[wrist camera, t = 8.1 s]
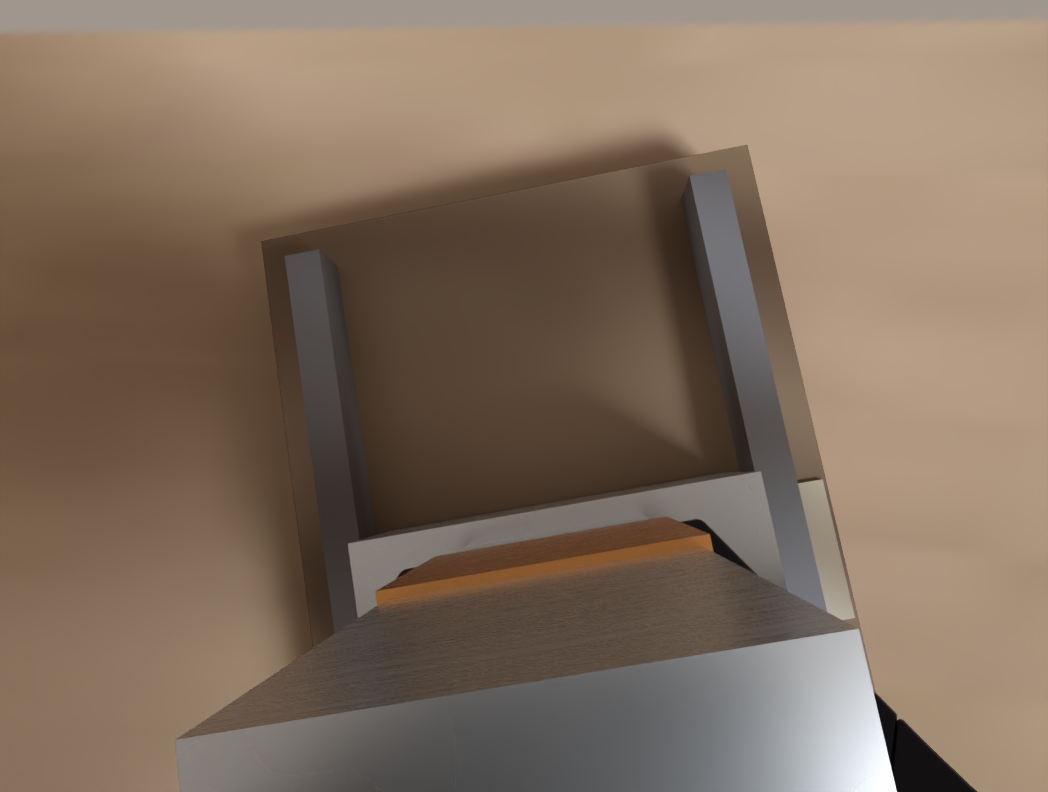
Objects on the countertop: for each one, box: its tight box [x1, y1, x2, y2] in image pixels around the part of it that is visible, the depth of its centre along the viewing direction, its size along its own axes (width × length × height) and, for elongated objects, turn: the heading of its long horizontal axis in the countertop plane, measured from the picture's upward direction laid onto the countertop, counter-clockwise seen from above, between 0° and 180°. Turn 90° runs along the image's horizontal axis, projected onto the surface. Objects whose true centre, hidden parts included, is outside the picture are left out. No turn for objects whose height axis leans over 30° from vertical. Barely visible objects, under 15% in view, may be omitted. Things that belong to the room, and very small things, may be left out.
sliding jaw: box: [175, 471, 897, 792], centre depth 9 cm, size 4×8×12 cm, turn 100°
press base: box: [261, 145, 876, 693], centre depth 15 cm, size 18×12×4 cm, turn 10°
